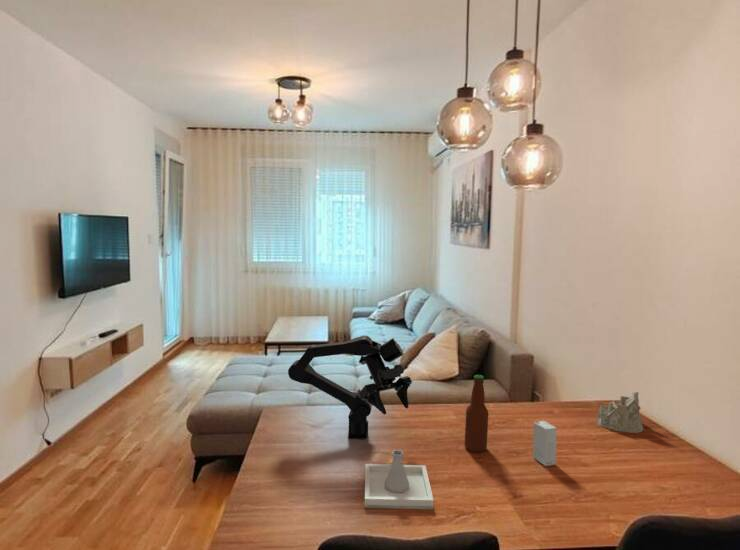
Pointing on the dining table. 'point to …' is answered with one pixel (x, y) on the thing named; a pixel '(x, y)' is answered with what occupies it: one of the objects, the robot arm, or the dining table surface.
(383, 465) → the tray
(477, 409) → the bottle
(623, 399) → the grey rock
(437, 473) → the dining table surface
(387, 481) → the flask
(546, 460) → the skincare box
